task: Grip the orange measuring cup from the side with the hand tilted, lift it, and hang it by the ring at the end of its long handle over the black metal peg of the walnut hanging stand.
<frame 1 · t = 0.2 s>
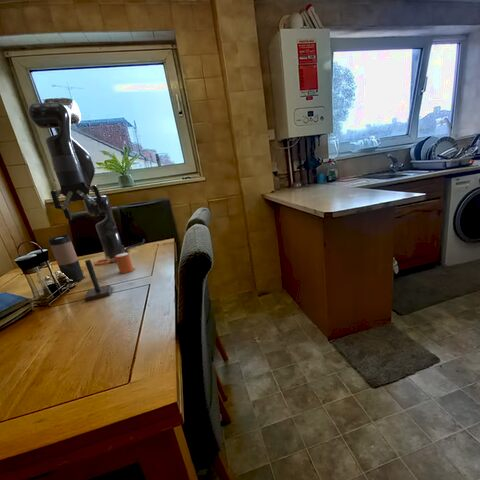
hand: (84, 217, 99), 29 cm above the table, tool pointing down, fingers open, 8 cm apart
travel mug: (75, 280, 126), on the table
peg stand: (99, 294, 107), on the table
measuring cup: (126, 270, 129), on the table
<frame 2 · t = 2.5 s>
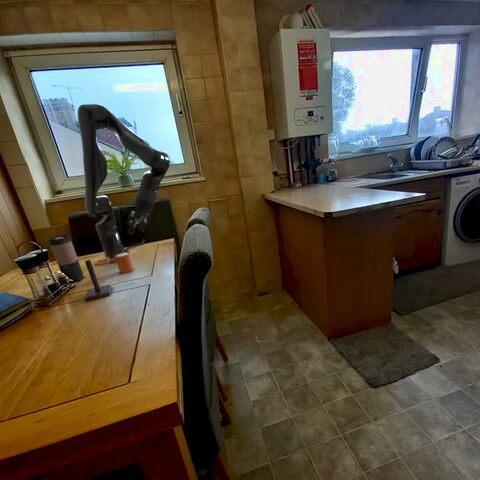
hand: (135, 232, 121), 18 cm above the table, tool tilted 30°, fingers open, 8 cm apart
nothing on the table moved.
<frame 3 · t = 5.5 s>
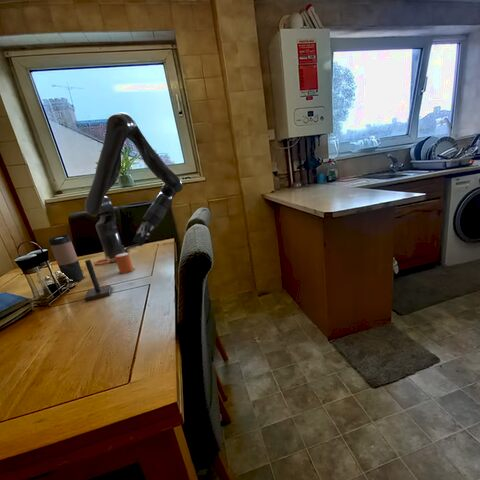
hand: (136, 243, 129), 11 cm above the table, tool tilted 45°, fingers open, 8 cm apart
nothing on the table moved.
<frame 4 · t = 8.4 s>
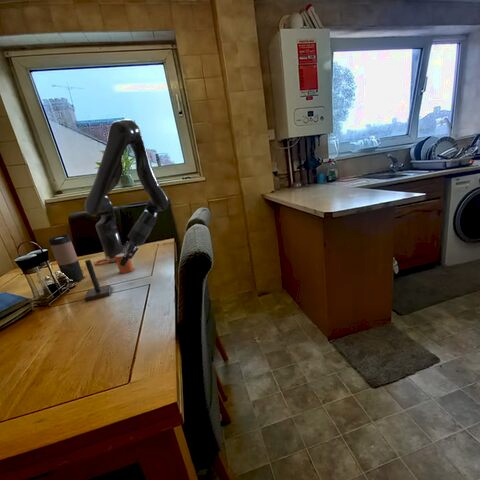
hand: (120, 263, 127), 4 cm above the table, tool tilted 45°, fingers closed on measuring cup, 6 cm apart
measuring cup: (126, 270, 129), on the table, touching gripper
everything else where it was.
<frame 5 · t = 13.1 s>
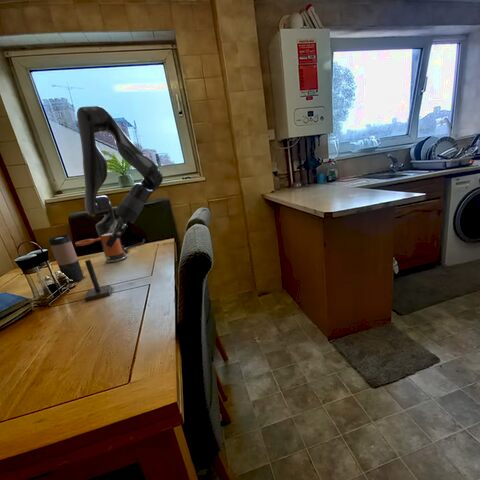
hand: (107, 244, 108), 17 cm above the table, tool tilted 45°, fingers closed on measuring cup, 6 cm apart
measuring cup: (115, 253, 111), point 13 cm above the table, touching gripper
everything else where it was.
when the fingers open (4 cm above the table, at t = 17.7 s): measuring cup stays where it is, on the table.
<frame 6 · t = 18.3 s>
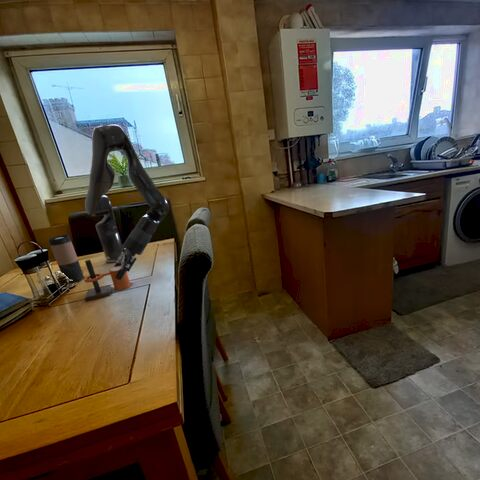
hand: (115, 275, 109), 5 cm above the table, tool tilted 45°, fingers open, 8 cm apart
measuring cup: (122, 286, 112), on the table
everything else where it was.
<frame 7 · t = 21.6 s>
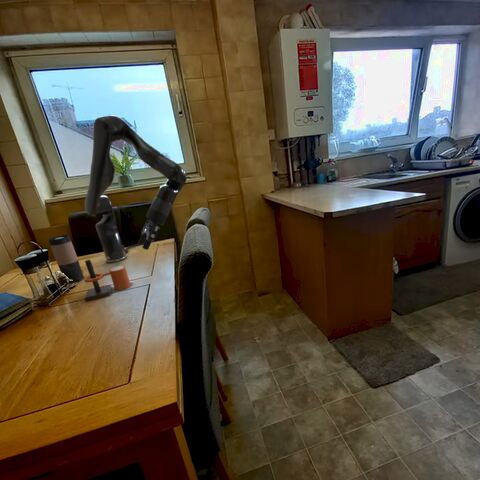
hand: (142, 246, 115), 14 cm above the table, tool tilted 35°, fingers open, 8 cm apart
nothing on the table moved.
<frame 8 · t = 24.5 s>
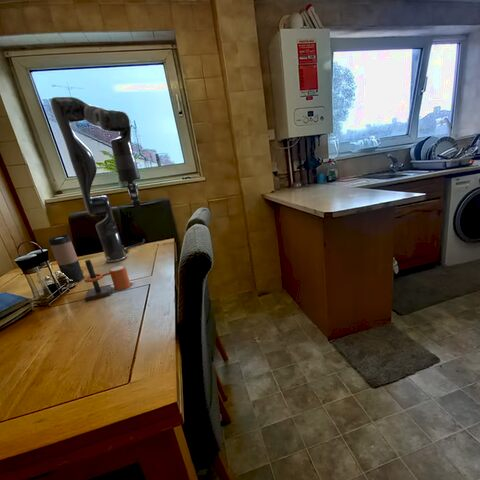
hand: (138, 209, 114), 28 cm above the table, tool pointing down, fingers open, 8 cm apart
nothing on the table moved.
at the end: measuring cup 0.1 cm from the target spot on the table beside the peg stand, on the table; measuring cup tilted 0°; the gripper is holding nothing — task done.
